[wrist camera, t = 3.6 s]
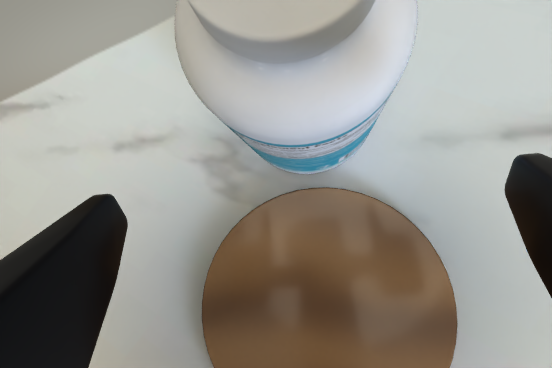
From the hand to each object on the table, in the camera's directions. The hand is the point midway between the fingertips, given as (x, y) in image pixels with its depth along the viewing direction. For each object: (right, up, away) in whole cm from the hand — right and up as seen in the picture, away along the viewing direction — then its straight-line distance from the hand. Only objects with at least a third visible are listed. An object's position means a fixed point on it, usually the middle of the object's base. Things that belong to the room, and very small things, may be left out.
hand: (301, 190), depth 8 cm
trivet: (+2, -7, +11) cm, 14 cm away
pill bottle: (+1, +4, +13) cm, 14 cm away
